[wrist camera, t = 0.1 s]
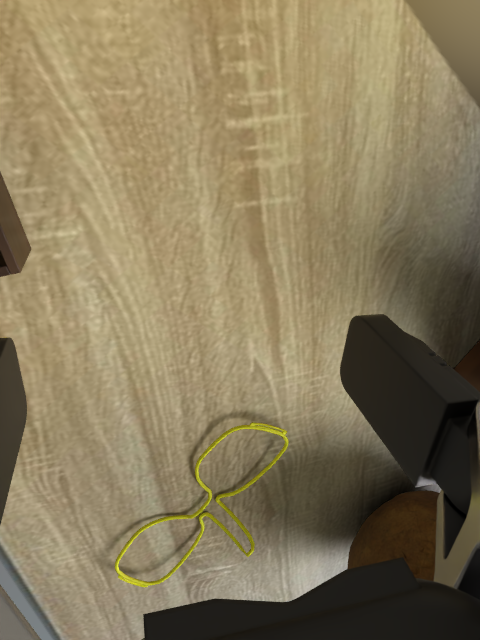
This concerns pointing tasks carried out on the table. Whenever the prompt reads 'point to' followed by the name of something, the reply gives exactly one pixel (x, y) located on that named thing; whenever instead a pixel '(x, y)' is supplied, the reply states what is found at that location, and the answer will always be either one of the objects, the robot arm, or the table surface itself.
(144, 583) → the glasses
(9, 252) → the brown wooden square box
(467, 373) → the stand
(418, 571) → the bowl
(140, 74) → the table surface
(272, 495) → the table surface
